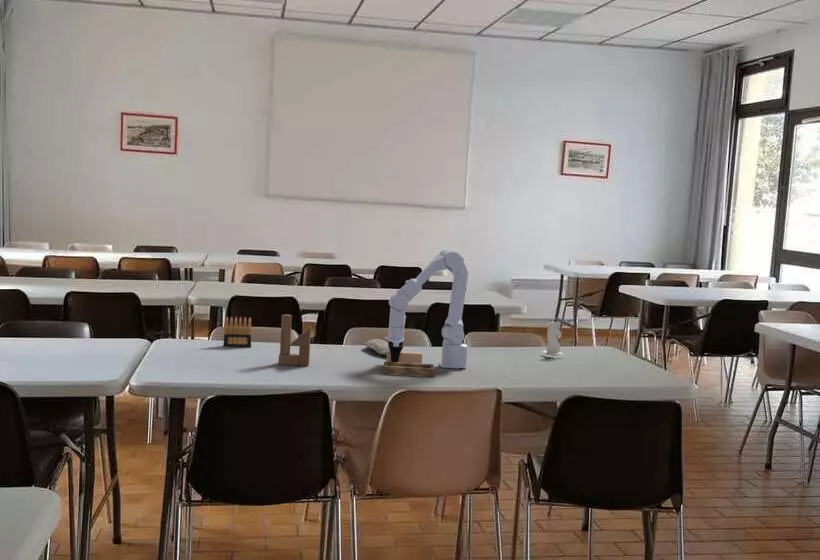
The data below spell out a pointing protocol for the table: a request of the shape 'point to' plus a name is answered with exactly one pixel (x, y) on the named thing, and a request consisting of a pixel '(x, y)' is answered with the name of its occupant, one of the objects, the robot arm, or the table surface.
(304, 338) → the tan wooden block stack
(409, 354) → the tan rectangular block
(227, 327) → the ammunition clip
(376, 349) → the stone tool
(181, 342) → the table surface
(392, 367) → the wooden tray
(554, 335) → the chess piece
